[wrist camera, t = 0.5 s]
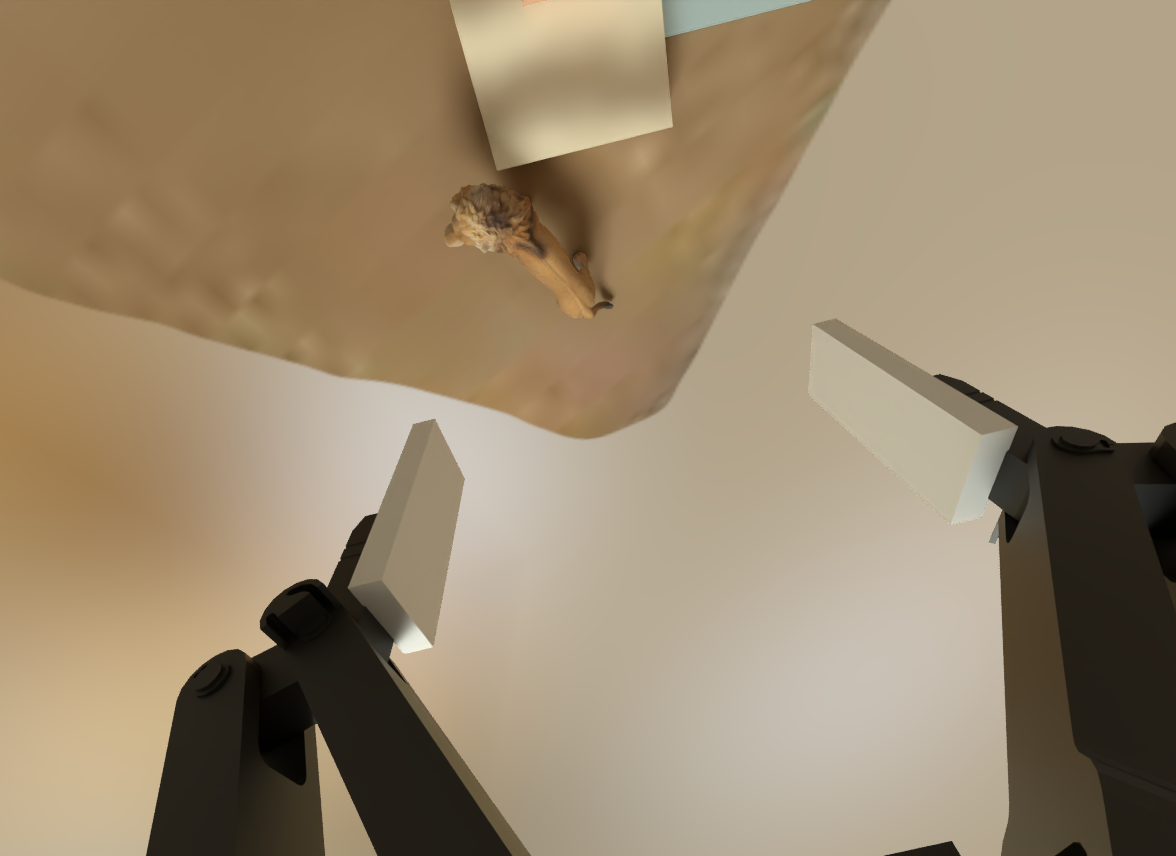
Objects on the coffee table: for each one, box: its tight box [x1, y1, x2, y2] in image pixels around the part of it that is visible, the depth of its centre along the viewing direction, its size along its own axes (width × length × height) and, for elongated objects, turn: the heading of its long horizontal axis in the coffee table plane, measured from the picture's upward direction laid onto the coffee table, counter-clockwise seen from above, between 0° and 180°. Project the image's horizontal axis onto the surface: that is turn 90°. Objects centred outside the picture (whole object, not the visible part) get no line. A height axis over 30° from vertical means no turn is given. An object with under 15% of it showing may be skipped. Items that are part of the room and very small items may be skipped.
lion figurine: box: [444, 183, 613, 319], centre depth 33 cm, size 15×5×9 cm, turn 52°
